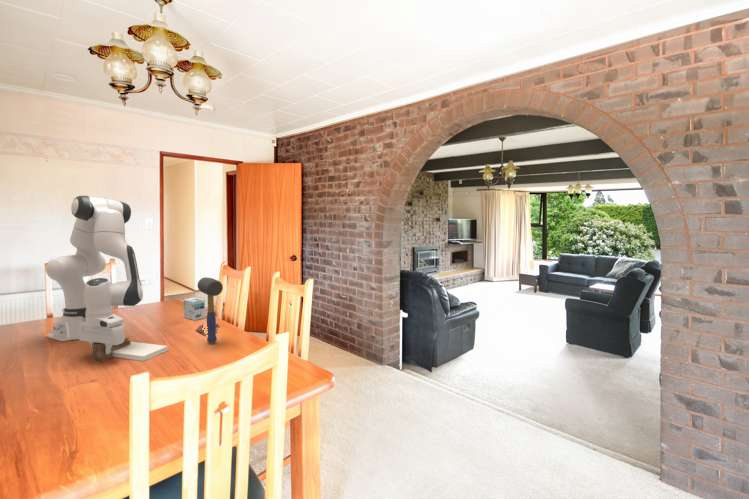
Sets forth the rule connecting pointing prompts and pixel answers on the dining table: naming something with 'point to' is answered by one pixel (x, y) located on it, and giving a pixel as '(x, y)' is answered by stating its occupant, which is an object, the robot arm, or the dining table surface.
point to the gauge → (100, 347)
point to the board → (139, 351)
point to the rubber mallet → (210, 304)
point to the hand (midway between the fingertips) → (102, 352)
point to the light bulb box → (194, 308)
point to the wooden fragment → (204, 328)
